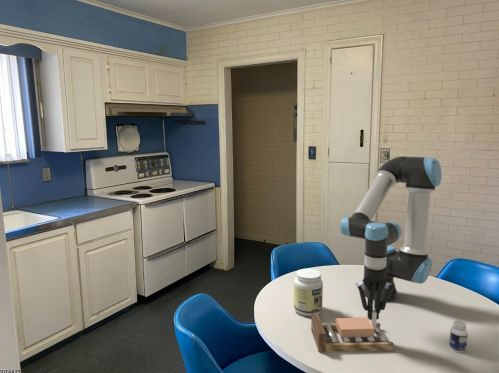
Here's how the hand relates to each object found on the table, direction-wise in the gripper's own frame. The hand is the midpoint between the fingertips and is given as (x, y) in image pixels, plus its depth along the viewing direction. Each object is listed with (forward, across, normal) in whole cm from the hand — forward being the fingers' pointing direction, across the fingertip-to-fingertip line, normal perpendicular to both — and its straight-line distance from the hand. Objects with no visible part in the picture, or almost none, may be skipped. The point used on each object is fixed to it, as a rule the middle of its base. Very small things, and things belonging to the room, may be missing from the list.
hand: (372, 327), depth 140 cm
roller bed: (+4, +6, 0) cm, 7 cm away
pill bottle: (+5, -28, +7) cm, 29 cm away
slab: (+1, +7, 0) cm, 7 cm away
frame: (+5, +7, 0) cm, 9 cm away
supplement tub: (+5, +20, -23) cm, 31 cm away
